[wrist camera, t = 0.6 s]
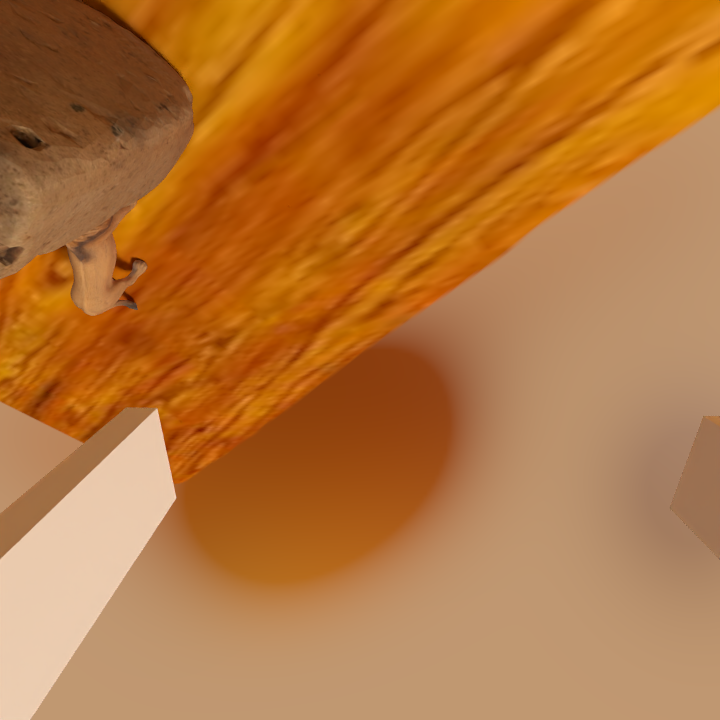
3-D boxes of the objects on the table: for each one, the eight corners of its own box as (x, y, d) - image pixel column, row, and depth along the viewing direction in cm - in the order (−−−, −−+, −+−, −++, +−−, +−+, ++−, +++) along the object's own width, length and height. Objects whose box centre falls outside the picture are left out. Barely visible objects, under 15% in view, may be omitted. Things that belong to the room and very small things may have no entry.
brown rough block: (221, 109, 29) (59, 194, 14) (169, 184, 32) (-8, 321, 17) (69, -40, 24) (-454, -175, 9) (26, 66, 28) (-406, 106, 12)
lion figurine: (54, 139, 30) (-37, 170, 23) (126, 146, 31) (56, 179, 24) (113, 304, 40) (60, 361, 33) (167, 308, 40) (126, 366, 33)
